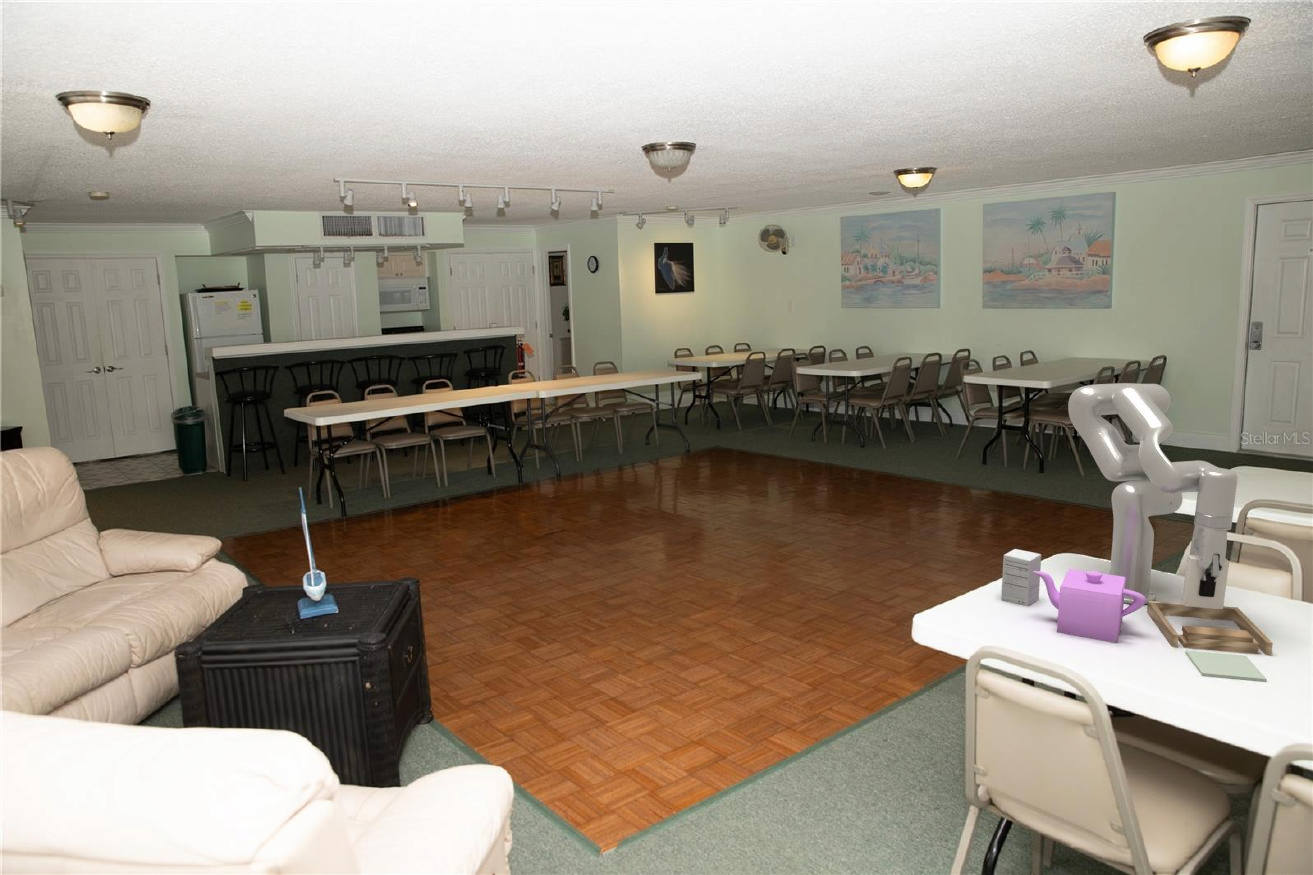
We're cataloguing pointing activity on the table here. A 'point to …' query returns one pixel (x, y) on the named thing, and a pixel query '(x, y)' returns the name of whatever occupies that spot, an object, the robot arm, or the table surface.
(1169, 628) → the frame
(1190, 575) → the cream rectangular block
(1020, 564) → the supplement box
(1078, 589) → the teapot
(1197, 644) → the offcut stack
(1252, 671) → the mat
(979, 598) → the table surface
